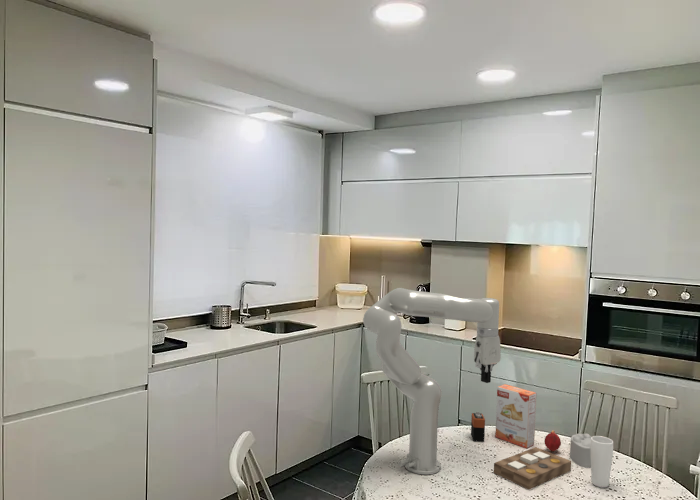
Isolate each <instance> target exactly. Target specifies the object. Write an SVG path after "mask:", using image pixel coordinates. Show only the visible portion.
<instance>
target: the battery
mask: <svg viewBox="0 0 700 500" xmlns="http://www.w3.org/2000/svg"><path fill="white" fill-rule="evenodd" d="M470 420H471V423H470V424H471V425H470V436H471V439H472V441H473V442H480V443H483V442H485V434H486V432H485V431H486V418H485V416H484V414H483V413H480V411H476V412H472V413H471V419H470Z"/></svg>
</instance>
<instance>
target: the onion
mask: <svg viewBox="0 0 700 500" xmlns="http://www.w3.org/2000/svg"><path fill="white" fill-rule="evenodd" d="M543 441H544V445H545V447H546V448H547V449H548V450H549V452H550V453H553V452H555V451H557V450H559V449H560V448H561V446H562V441H561V438H560V437H559V435H558V434H557V433H556V432H555V430H554V429H552V430H551V432H550V433H548V434H547V435H546V436H545V437H544V440H543Z"/></svg>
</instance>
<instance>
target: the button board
mask: <svg viewBox="0 0 700 500" xmlns="http://www.w3.org/2000/svg"><path fill="white" fill-rule="evenodd" d="M539 451H540V452H543V453H545V454H547V455H550V457H549V458H547V459H544V460H542V459H540V458H538V462H537V463H534V464H532V465H530V464H528V463H526V462H523V461H521V460H520V456H522V455H525V454H530V455H532V454H534V453H536V452H539ZM514 461H517V462H519V463H522V464H524V465H526V467H525V468H522V469H520V470H517V469H515V468H513V467H510V466H508V463H511V462H514ZM571 471H572V460H571V459H567V458H565V457H563V456H559V455H557V454H554V453H553V452H551V451H547V450H544V449H542V448H539V447H537V446H536V447H535V446H534V447H532V448H530V449H528V450H525V451H522V452H519V453H517V454H514V455H511V456H509V457H506V458H504V459H500V460H498V461H495V462H493V474H495V475H497V476H499V477H501V478H503V479H505V480H507V481H510V482H512V483H514V484H515V485H518V486H520V487H522V488H525V489H526V490H529V491H530V490H532V489H534V488H536V487H539V486H541V485H543V484H546V483H547V482H549V481H552V480H553V479H556V478H558V477H561V476H562V475H564V474H568V473H570V472H571Z"/></svg>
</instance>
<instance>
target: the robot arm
mask: <svg viewBox="0 0 700 500" xmlns="http://www.w3.org/2000/svg"><path fill="white" fill-rule="evenodd" d="M399 313H400V314H403V315H407V316H412V317H423V318H424V317H425V318H436V319H443V320H452V321H459V322H461V321H462V322H469V323H476V338H475V341H474V342H475V343H474V347H473V348H474V351H473V362H474V363H475V368H478V369H479V371H480V382H482V383H485V384H489V383H491V378H492V371H493V367H494V366H495V365H497V364H498V363H500V361H501V359H502V358H501V355H502V354H501V338H500V336H499V323H500V322H499V321H500V320H499V318H500V316H499V315H500V301H499V300H498V299H496V298H492V297H482V298H472V297H463V298H460V297H457V296H452V295H450V294H445V293H439V292H430V291H429V292H428V291H420V290H413V289H407V288H403V287H397V288H394V289H393V290H392V289H391V290H390V291H389V292H387V294H385V295H384V296H382V297H381V298H380V299H379V300H378V301H376V302H375V303H374V304H373V305H371V306H370V307H369V308H368V309H367V310H366V311H365V313H364V314H363V317H362V318H363V319H362V321H363V326H364V327H365V329H366V330H368V331H369V332H370V333H373V334H376V335H377V337H376V343H375V352H376V354H377V356H378V358H379V359H380V361H381V364H380V365H381V370H382V373H383V374H384V375H385V377H386V378H387V379H388V380H389V381H390V382H391V383H392V384H393V385H394V386H395V388H397V390H398V391H399V392H401V393H402V394H403V395H404V396H405V397H407V398H409V399H411V400H413V405H412V408H411V411H410V416H409V442H408V443H409V448H408V449H409V451H408V453H407V454H406V457H405V459H401V460H399V461H398V466H399V467H400V468H401V467H405V468H406V470H408V471H409V472H411V473H414V474H417V475H418V474H419V475H432V474H433V475H434V474H437V473H438V472H440V471H441V469H442V465H441V463H440V461H439V460H438V457H437V456H438V455H437V453H438V452H437V451H438V431H439V429H438V427H439V426H438V424H439V422H438V421H439V410H440V404H441V401H442V400H441V399H442V394H443V391H442V388H441V385H440V384H439V382H438V381H437V380H435V379H434V378H432V377H431V376H428V375H426V374H424V373H422V372H421V371H422V370H421V368H420V365H419V363H418V362H417V361H416V359H415V358H413V356H412V355H411V354H410V353H409V352H408V351H407V350H406V349H405V347H404V346H403V345H402V344H401V341H400V339H401V332H402V321H401V319H400V317H399V316H398V315H397V314H399Z"/></svg>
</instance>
